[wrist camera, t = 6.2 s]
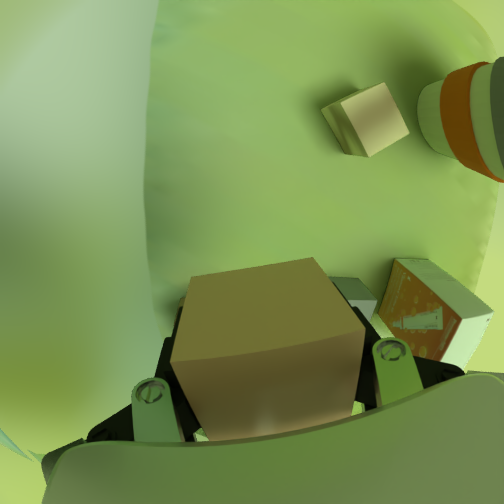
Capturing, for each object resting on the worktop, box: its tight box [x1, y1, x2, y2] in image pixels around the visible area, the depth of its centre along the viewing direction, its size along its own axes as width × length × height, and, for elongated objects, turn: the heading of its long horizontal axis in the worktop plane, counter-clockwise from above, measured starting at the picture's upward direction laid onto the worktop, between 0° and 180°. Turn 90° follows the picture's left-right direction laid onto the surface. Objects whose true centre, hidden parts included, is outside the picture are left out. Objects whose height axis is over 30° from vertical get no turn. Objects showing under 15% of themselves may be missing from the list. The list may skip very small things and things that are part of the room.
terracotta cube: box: [170, 257, 366, 441], centre depth 10 cm, size 5×5×5 cm
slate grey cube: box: [328, 277, 378, 322], centre depth 28 cm, size 5×5×5 cm
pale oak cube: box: [320, 82, 410, 157], centre depth 21 cm, size 5×5×5 cm
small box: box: [378, 259, 494, 370], centre depth 25 cm, size 8×6×13 cm
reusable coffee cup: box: [417, 57, 504, 183], centre depth 16 cm, size 13×12×15 cm
